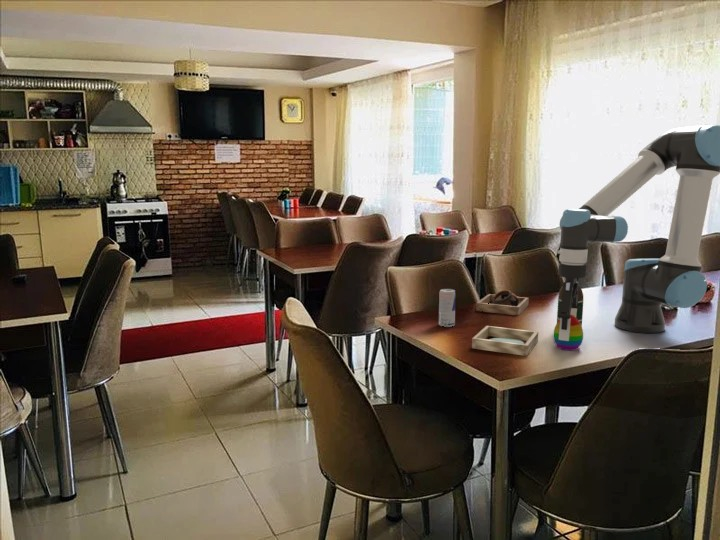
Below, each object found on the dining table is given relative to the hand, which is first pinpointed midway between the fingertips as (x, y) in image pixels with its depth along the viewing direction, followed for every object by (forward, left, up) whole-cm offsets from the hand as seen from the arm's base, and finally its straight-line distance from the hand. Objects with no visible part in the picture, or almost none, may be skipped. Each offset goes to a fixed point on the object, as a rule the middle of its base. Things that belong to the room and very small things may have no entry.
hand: (567, 334), depth 174 cm
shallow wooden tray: (+17, +5, -4) cm, 18 cm away
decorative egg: (0, 0, -4) cm, 4 cm away
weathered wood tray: (+29, -41, -4) cm, 50 cm away
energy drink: (+40, -8, -4) cm, 41 cm away
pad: (+17, +5, -4) cm, 18 cm away
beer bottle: (+2, -17, -4) cm, 18 cm away
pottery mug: (+27, -41, -4) cm, 50 cm away
